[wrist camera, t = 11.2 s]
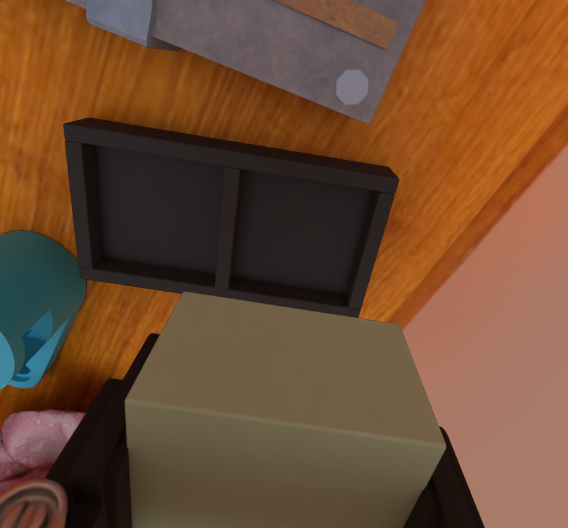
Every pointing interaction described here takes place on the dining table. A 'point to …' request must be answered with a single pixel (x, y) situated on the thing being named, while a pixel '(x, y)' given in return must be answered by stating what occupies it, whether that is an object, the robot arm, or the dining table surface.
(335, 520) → the sage block
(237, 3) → the book
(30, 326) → the teal cylinder
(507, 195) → the dining table surface
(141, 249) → the black divided tray
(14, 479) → the flower
